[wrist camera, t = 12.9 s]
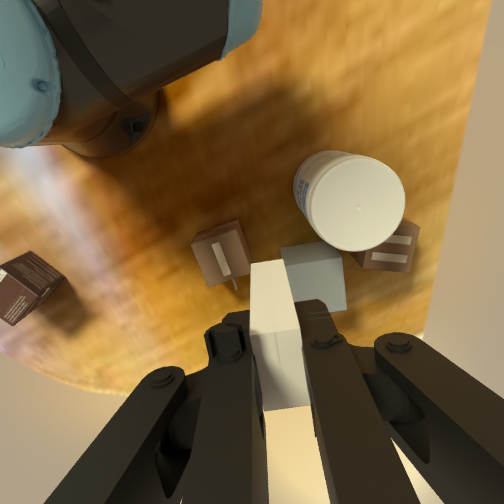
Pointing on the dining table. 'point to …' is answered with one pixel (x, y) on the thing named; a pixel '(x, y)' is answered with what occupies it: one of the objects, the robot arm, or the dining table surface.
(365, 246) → the supplement tub
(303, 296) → the plain block
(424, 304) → the dining table surface
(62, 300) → the dining table surface
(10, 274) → the box
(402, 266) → the marked cube right
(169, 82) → the robot arm
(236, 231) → the marked cube left
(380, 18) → the dining table surface
